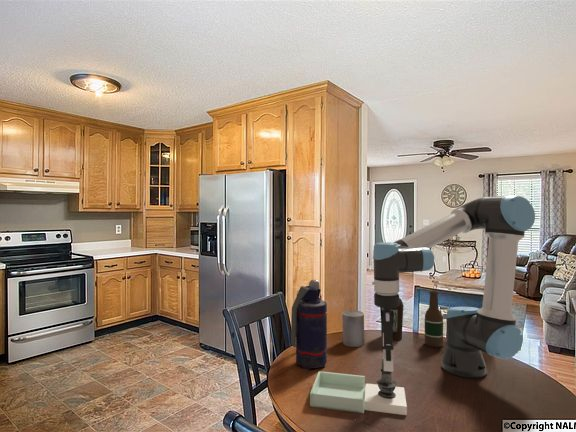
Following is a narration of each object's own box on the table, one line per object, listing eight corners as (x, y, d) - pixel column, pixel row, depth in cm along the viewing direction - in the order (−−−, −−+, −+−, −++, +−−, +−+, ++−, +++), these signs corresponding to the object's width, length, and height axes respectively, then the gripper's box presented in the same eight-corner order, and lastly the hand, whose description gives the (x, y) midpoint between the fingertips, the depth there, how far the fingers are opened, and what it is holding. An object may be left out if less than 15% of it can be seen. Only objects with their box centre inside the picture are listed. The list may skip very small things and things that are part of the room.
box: (366, 388, 121) (366, 376, 121) (364, 413, 106) (364, 399, 106) (318, 382, 125) (318, 371, 125) (310, 406, 110) (310, 393, 110)
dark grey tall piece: (393, 389, 115) (392, 351, 115) (399, 399, 109) (398, 359, 109) (374, 390, 115) (374, 352, 115) (379, 399, 109) (379, 359, 109)
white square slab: (404, 395, 117) (404, 387, 117) (406, 415, 105) (406, 406, 105) (365, 390, 119) (365, 383, 119) (364, 409, 108) (364, 401, 108)
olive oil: (383, 332, 179) (383, 281, 179) (405, 336, 174) (405, 283, 173) (377, 339, 169) (377, 285, 169) (400, 342, 164) (400, 287, 164)
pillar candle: (352, 338, 171) (351, 306, 171) (369, 343, 163) (368, 310, 163) (338, 343, 165) (337, 310, 164) (354, 349, 157) (354, 314, 157)
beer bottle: (444, 343, 163) (444, 290, 163) (441, 349, 157) (441, 293, 157) (426, 340, 168) (426, 288, 167) (422, 345, 161) (422, 291, 161)
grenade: (318, 356, 148) (318, 283, 148) (332, 368, 137) (332, 288, 137) (286, 361, 143) (286, 285, 143) (298, 374, 132) (298, 291, 132)
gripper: (374, 284, 125) (375, 345, 125) (373, 302, 101) (375, 378, 101) (397, 285, 123) (398, 347, 123) (401, 303, 99) (403, 380, 99)
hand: (388, 361), depth 112 cm, fingers open, 13 cm apart
